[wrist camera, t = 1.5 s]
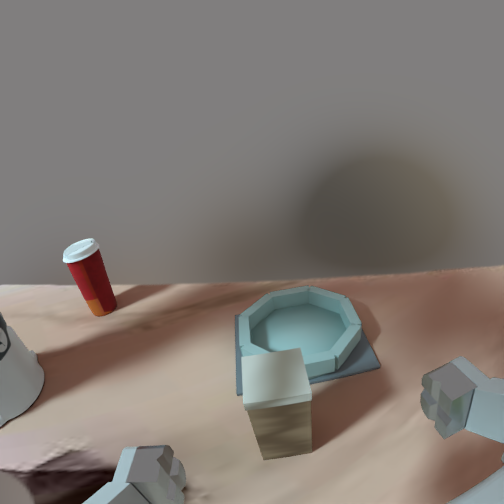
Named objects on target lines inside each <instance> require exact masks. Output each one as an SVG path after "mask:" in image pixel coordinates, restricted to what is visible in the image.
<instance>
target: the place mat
mask: <svg viewBox="0 0 504 504" xmlns="http://www.w3.org/2000/svg"><path fill="white" fill-rule="evenodd" d="M239 317H240V314H239V315H235V342H236V387H237V396H239V395H243V386H242V363H241V357H242V354H241V350H240V346H239ZM378 368H380V365H379V362H378V360H377V358H376V356H375V354H374V352H373V350H372V348H371V346H370V344H369V342H368V340H367V338H366V336H365V334H364V332H363V330H362V328H361V338H360V341H359V342H358V343H357V345H356V346H355V348H354V349H353V350H352V352H351V354H350V355H349V357H348V358H347V360H346V361H345V362H344V363H343V364H342V365H341V366H340V368H339V369H335V371H334V372H330V373H328V374H326V375H324V376H322V377H319V378H315V379H311V380H309V384H314V383H319V382H324V381H329V380H333V379H338V378H342V377H346V376H351V375H355V374H359V373H363V372H367V371H370V370H374V369H378Z"/></svg>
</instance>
